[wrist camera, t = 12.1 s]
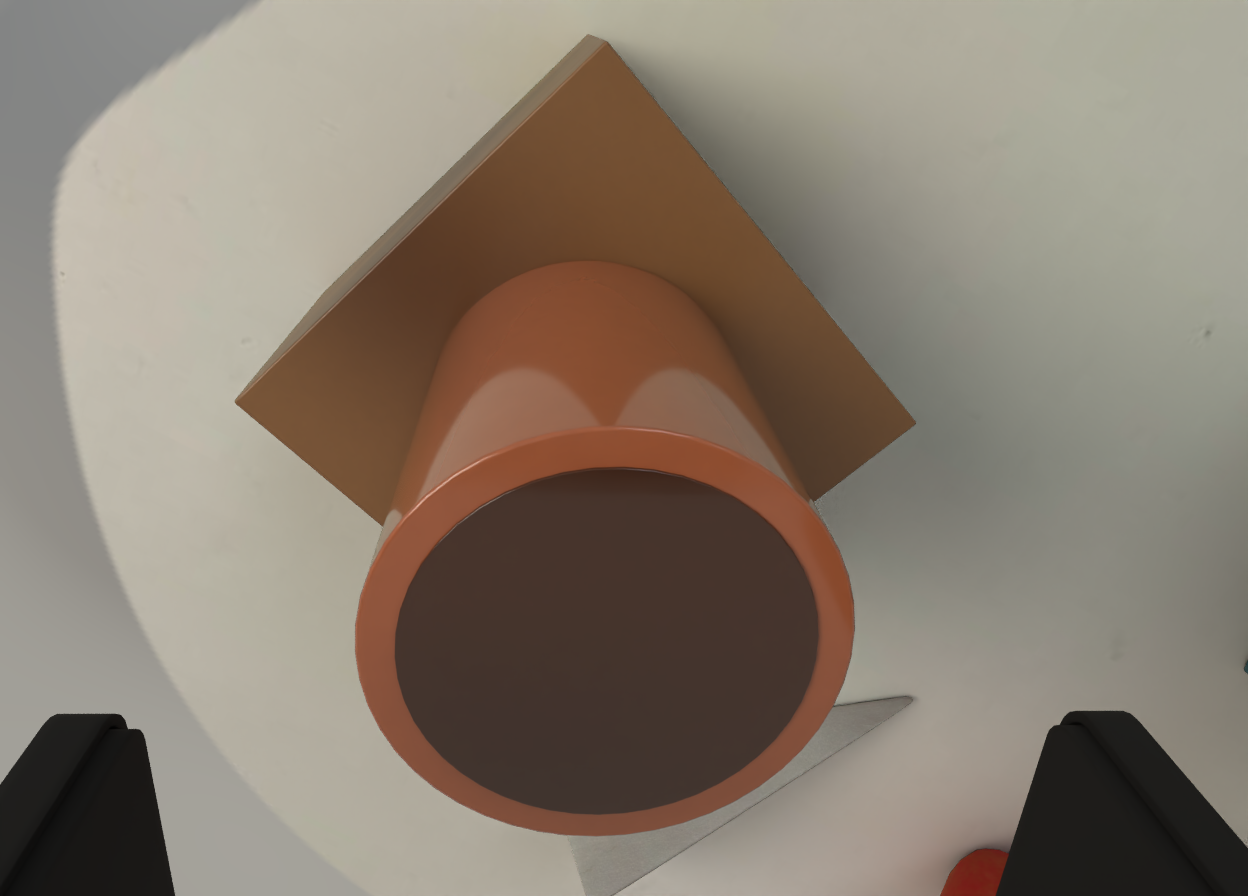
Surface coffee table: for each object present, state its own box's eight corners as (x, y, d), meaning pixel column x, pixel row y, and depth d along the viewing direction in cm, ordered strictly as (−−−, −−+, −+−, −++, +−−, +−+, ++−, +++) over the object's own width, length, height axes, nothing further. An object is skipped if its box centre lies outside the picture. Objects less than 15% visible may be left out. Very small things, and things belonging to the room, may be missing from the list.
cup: (598, 188, 17) (634, 315, 10) (801, 420, 19) (951, 660, 12) (363, 406, 19) (242, 656, 11) (577, 597, 21) (592, 906, 14)
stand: (588, 33, 23) (606, 39, 16) (818, 314, 27) (917, 424, 20) (322, 293, 26) (232, 402, 18) (567, 521, 29) (572, 687, 22)
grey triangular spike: (868, 585, 31) (524, 777, 30) (941, 713, 30) (592, 912, 29) (830, 585, 37) (540, 746, 36) (890, 691, 36) (597, 858, 35)
